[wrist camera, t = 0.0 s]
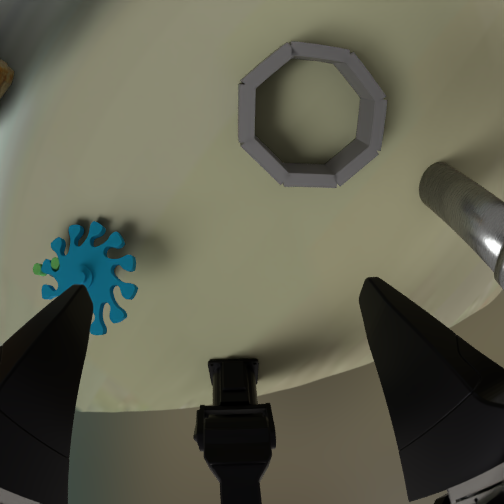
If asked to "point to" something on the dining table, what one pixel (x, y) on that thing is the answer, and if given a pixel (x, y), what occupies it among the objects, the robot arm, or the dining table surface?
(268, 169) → the collar
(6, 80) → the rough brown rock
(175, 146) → the dining table surface
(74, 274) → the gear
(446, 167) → the metal canister
